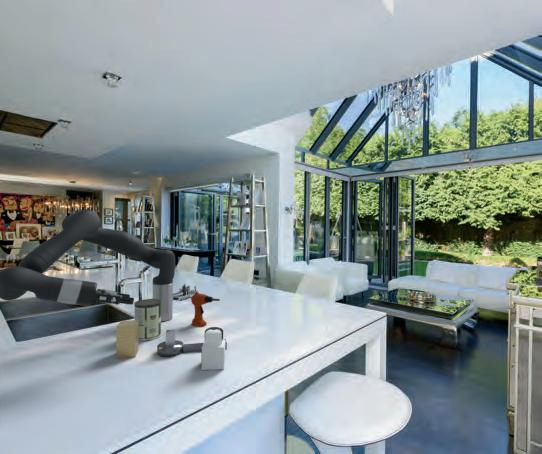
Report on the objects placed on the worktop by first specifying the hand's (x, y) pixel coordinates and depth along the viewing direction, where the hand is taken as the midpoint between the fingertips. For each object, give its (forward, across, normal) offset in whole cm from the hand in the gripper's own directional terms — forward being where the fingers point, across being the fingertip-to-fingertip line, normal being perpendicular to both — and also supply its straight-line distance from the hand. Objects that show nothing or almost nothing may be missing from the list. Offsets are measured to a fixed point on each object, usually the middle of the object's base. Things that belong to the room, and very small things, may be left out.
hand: (131, 299), depth 106 cm
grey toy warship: (+42, +77, +4) cm, 88 cm away
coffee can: (+14, +20, +16) cm, 29 cm away
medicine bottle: (+27, -18, +15) cm, 36 cm away
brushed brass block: (+5, +5, +19) cm, 20 cm away
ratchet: (+25, -3, +14) cm, 29 cm away
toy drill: (+37, +19, +10) cm, 43 cm away
